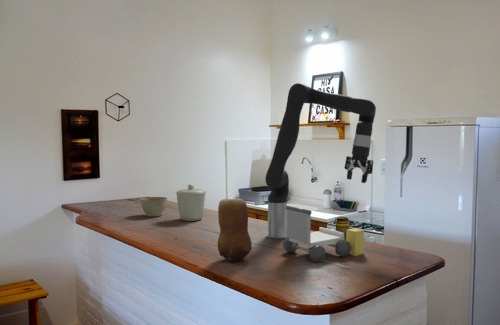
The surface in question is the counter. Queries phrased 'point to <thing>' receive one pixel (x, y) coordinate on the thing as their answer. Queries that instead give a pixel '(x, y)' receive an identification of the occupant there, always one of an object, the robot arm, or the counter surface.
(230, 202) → the butternut squash
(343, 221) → the condiment
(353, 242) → the yellow rectangular block
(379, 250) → the counter surface
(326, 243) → the trolley
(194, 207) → the canister
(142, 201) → the planter bowl
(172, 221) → the counter surface
